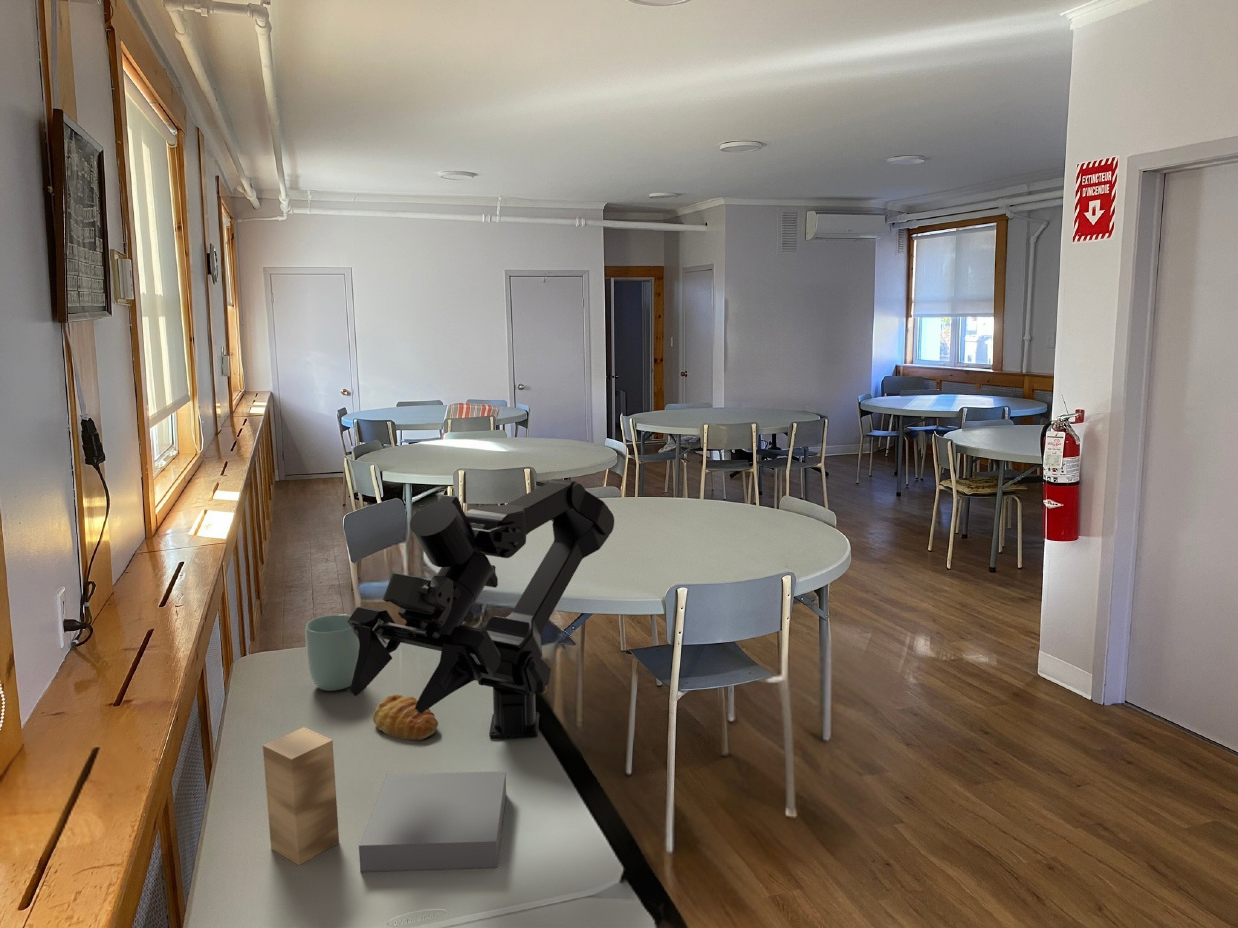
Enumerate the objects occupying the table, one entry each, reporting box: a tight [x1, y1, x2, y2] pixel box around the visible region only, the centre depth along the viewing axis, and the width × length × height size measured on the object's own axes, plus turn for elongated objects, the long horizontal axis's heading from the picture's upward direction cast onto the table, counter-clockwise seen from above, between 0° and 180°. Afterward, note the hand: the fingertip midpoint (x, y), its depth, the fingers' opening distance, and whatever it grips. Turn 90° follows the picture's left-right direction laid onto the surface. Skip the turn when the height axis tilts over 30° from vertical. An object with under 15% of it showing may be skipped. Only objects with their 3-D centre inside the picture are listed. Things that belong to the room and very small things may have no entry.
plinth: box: [358, 770, 507, 873], centre depth 101 cm, size 14×14×3 cm
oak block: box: [262, 726, 340, 866], centre depth 97 cm, size 5×5×12 cm
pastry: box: [372, 694, 439, 741], centre depth 124 cm, size 9×7×4 cm
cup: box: [304, 613, 359, 692], centre depth 137 cm, size 8×8×10 cm
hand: (384, 702), depth 100 cm, fingers open, 9 cm apart
